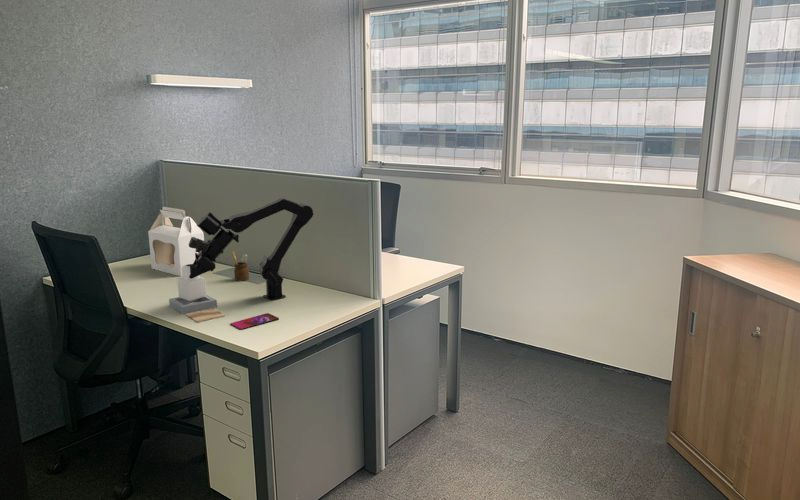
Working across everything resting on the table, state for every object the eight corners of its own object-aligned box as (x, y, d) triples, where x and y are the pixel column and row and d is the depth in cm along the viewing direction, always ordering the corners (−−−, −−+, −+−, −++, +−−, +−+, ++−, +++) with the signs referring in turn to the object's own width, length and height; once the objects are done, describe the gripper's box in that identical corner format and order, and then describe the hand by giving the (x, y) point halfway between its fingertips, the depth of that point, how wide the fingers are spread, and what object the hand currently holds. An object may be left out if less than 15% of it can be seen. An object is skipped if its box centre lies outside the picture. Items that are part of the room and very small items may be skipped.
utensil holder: (246, 281, 250) (244, 253, 247) (231, 280, 251) (230, 253, 248) (251, 277, 256) (249, 250, 253) (237, 277, 256) (235, 250, 254)
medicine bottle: (195, 292, 223) (193, 261, 220) (206, 296, 218) (204, 264, 215) (178, 297, 217) (175, 265, 215) (189, 301, 213) (186, 268, 210)
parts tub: (216, 306, 218) (216, 300, 217) (183, 314, 210) (182, 307, 209) (202, 298, 227) (202, 292, 227) (169, 305, 219) (169, 298, 219)
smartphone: (229, 323, 200) (267, 312, 210) (229, 325, 200) (268, 315, 210) (240, 329, 195) (280, 318, 205) (240, 331, 195) (280, 320, 205)
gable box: (151, 268, 269) (145, 207, 263) (176, 263, 280) (171, 204, 273) (181, 276, 257) (176, 212, 250) (206, 270, 267) (202, 208, 261)
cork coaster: (225, 316, 208) (225, 315, 208) (197, 322, 202) (197, 321, 201) (212, 309, 215) (212, 307, 215) (185, 315, 209) (185, 313, 209)
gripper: (199, 224, 222) (170, 256, 221) (202, 234, 205) (171, 268, 204) (223, 243, 227) (195, 274, 225) (228, 254, 210) (197, 287, 209)
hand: (189, 275), depth 216 cm, fingers closed on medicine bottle, 6 cm apart
